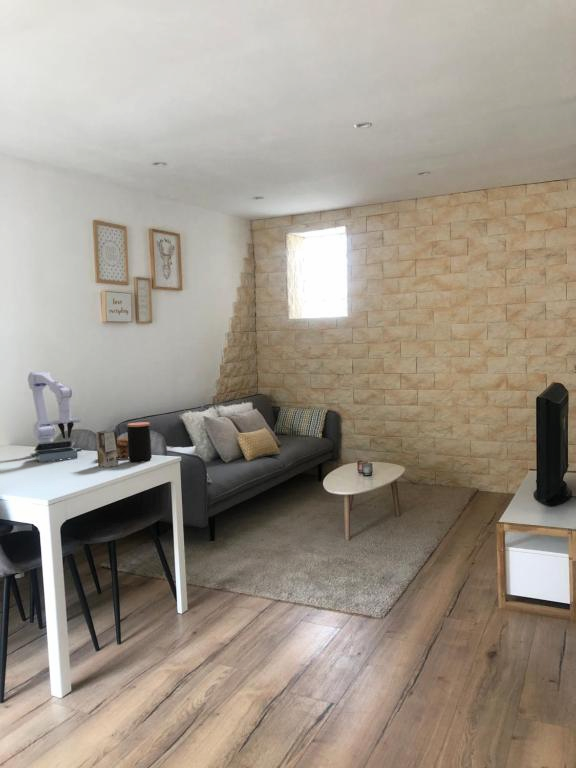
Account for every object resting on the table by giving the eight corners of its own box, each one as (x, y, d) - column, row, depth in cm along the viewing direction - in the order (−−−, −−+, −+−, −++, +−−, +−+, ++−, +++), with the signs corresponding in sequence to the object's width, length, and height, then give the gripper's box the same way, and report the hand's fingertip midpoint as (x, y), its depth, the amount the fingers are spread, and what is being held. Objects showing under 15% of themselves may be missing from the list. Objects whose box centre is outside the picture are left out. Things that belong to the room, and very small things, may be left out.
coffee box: (119, 465, 294) (117, 431, 293) (106, 467, 290) (103, 432, 289) (110, 463, 301) (108, 429, 300) (97, 465, 297) (95, 431, 296)
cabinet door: (34, 451, 323) (33, 447, 324) (71, 447, 332) (71, 443, 333) (38, 444, 311) (37, 440, 311) (77, 440, 320) (76, 436, 320)
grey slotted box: (29, 459, 322) (28, 452, 322) (77, 453, 334) (77, 446, 334) (33, 463, 310) (33, 455, 309) (83, 457, 322) (83, 449, 321)
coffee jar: (154, 458, 310) (152, 421, 309) (147, 462, 299) (145, 424, 298) (133, 458, 311) (131, 422, 310) (125, 462, 300) (123, 425, 299)
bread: (104, 461, 309) (103, 440, 309) (103, 457, 319) (102, 438, 319) (143, 457, 315) (142, 437, 314) (141, 454, 325) (140, 434, 324)
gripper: (51, 413, 313) (53, 440, 314) (81, 410, 320) (82, 437, 321) (48, 412, 319) (50, 438, 320) (78, 409, 326) (79, 435, 327)
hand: (66, 437), depth 321 cm, fingers closed
